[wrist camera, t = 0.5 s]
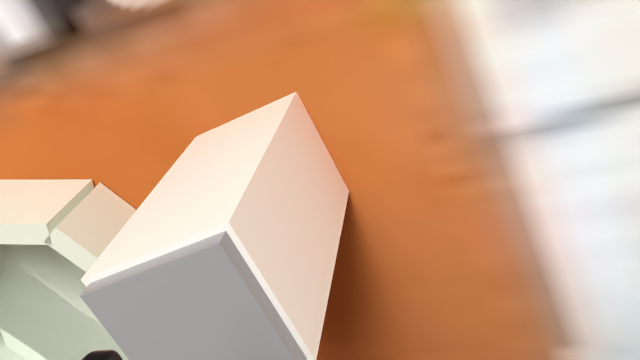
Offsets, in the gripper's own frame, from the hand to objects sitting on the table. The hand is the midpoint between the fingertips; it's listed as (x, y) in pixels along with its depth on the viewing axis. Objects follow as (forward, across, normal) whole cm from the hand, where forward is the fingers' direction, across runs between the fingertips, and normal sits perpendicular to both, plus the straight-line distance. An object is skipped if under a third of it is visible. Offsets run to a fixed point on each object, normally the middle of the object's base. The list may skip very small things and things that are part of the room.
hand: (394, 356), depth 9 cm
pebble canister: (+15, +6, +7) cm, 18 cm away
